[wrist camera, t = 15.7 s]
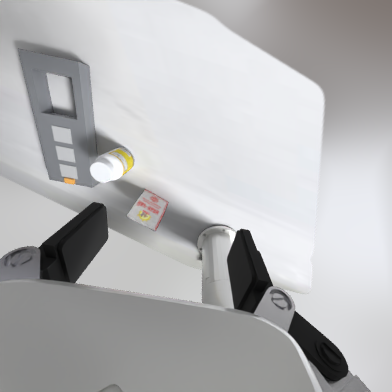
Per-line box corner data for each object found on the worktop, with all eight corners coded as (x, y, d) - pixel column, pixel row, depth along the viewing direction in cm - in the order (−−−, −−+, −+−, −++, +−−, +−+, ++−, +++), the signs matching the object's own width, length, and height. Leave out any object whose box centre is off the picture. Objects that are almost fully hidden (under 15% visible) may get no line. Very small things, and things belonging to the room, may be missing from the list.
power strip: (99, 182, 42) (91, 188, 38) (59, 175, 41) (47, 180, 38) (89, 66, 31) (75, 60, 27) (34, 54, 30) (14, 47, 27)
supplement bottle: (115, 170, 40) (91, 186, 31) (109, 147, 37) (80, 158, 29) (137, 169, 40) (118, 185, 31) (132, 146, 37) (110, 157, 28)
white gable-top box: (162, 211, 45) (151, 236, 36) (139, 199, 43) (122, 222, 34) (168, 202, 43) (159, 225, 34) (145, 189, 42) (129, 209, 33)
